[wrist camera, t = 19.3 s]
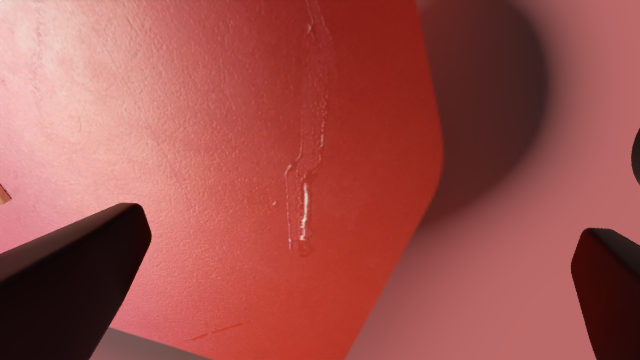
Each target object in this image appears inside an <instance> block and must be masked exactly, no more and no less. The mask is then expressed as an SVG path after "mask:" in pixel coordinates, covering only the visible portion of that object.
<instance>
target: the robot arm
mask: <svg viewBox="0 0 640 360" xmlns="http://www.w3.org/2000/svg"><path fill="white" fill-rule="evenodd" d="M151 237H152V235H151V230H150V227H149V224H148V221H147V218H146V215H145V213H144V210H143V208H142V206H141V205H139V204H137V203H119V204H117V205H114V206H112V207H109V208H107V209H105V210H102V211H100V212H98V213H95V214H93V215H91V216H88V217H86V218H84V219H81V220H79V221H77V222H74V223H72V224H70V225H67V226H65V227H62V228H60V229H58V230H55V231H53V232H51V233H48V234H46V235H44V236H41V237H39V238H37V239H34V240H32V241H30V242H27V243H25V244H23V245H20V246H18V247H16V248H13V249H11V250H8V251H6V252H4V253H1V254H0V360H89V359H90V357H91V356H92V354H93V352H94V351H95V349H96V347H97V346H98V344H99V342H100V340H101V339H102V337H103V335H104V334H105V332H106V330H107V329H108V327H109V325H110V324H111V322H112V320H113V318H114V317H115V315H116V313H117V312H118V310H119V308H120V306H121V305H122V303H123V301H124V299H125V297H126V295H127V293H128V291H129V289H130V286H131V284H132V282H133V280H134V278H135V276H136V273H137V271H138V269H139V267H140V265H141V263H142V261H143V258H144V256H145V254H146V252H147V250H148V248H149V245H150V243H151ZM571 274H572V278H573V281H574V285H575V288H576V292H577V296H578V299H579V303H580V307H581V310H582V314H583V317H584V321H585V325H586V328H587V332H588V335H589V339H590V342H591V345H592V348H593V351H594V354H595V356H596V359H597V360H640V245H638V244H636V243H635V242H633V241H631V240H629V239H628V238H626V237H624V236H622V235H621V234H619V233H617V232H615V231H614V230H611V229H603V228H601V229H600V228H587V229H585V230H584V231H583V232H582V234H581V236H580V239H579V242H578V244H577V247H576V250H575V253H574V256H573V258H572V262H571Z"/></svg>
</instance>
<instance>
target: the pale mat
mask: <svg viewBox="0 0 640 360" xmlns="http://www.w3.org/2000/svg"><path fill="white" fill-rule="evenodd" d="M10 199H11V198H10V197H9V196H8V195H7V193H6V192H5V191H4V190H3V188H2V187H1V186H0V204H4V203H6V202H8V201H9V200H10Z"/></svg>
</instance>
